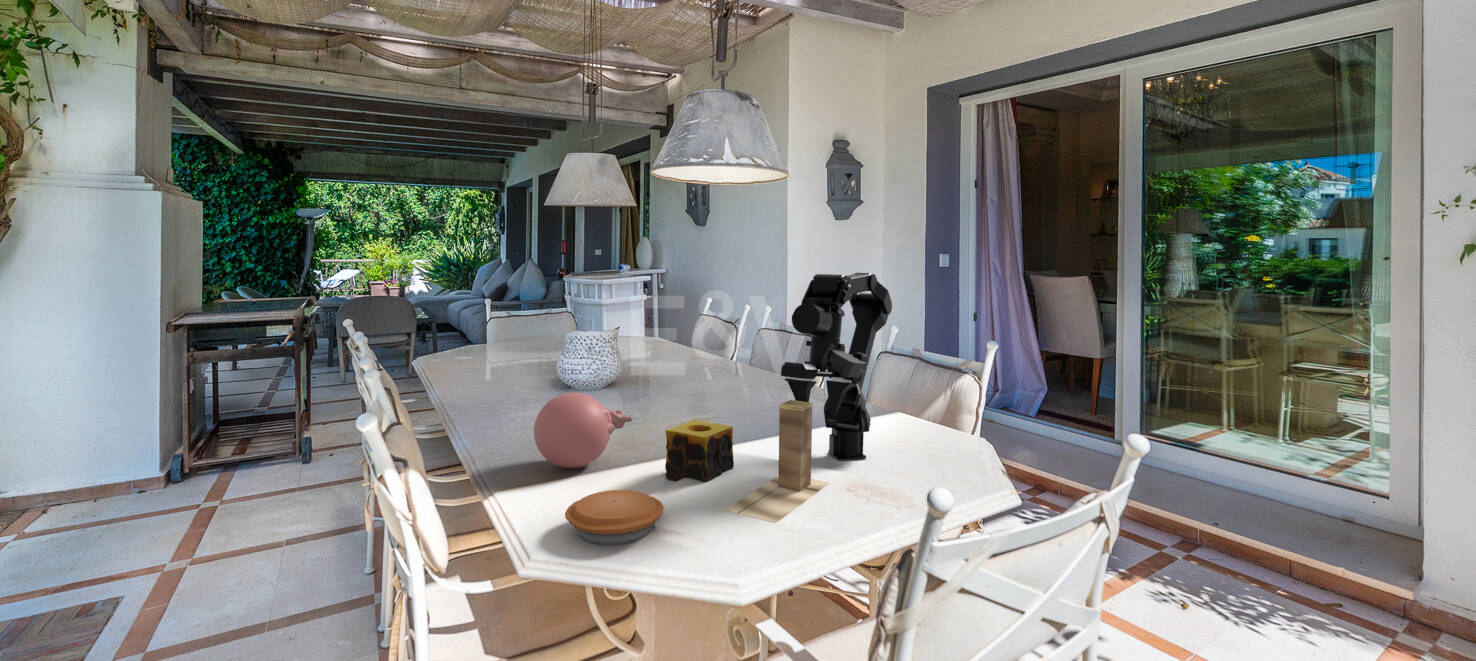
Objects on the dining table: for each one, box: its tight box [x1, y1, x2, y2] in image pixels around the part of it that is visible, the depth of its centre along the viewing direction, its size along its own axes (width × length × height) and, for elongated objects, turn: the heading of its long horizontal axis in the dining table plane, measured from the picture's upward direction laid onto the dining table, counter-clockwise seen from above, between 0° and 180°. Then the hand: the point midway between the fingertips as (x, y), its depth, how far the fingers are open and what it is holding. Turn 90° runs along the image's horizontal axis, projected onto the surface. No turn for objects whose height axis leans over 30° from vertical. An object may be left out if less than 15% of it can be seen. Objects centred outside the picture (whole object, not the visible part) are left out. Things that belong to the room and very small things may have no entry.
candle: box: [664, 419, 735, 483], centre depth 133 cm, size 10×10×10 cm
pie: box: [564, 489, 665, 546], centre depth 108 cm, size 15×16×5 cm
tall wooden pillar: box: [777, 399, 814, 492], centre depth 124 cm, size 5×5×16 cm
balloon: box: [533, 392, 634, 469], centre depth 139 cm, size 15×20×15 cm
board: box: [723, 476, 831, 524], centre depth 120 cm, size 22×10×1 cm, turn 149°
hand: (818, 415), depth 133 cm, fingers open, 9 cm apart
